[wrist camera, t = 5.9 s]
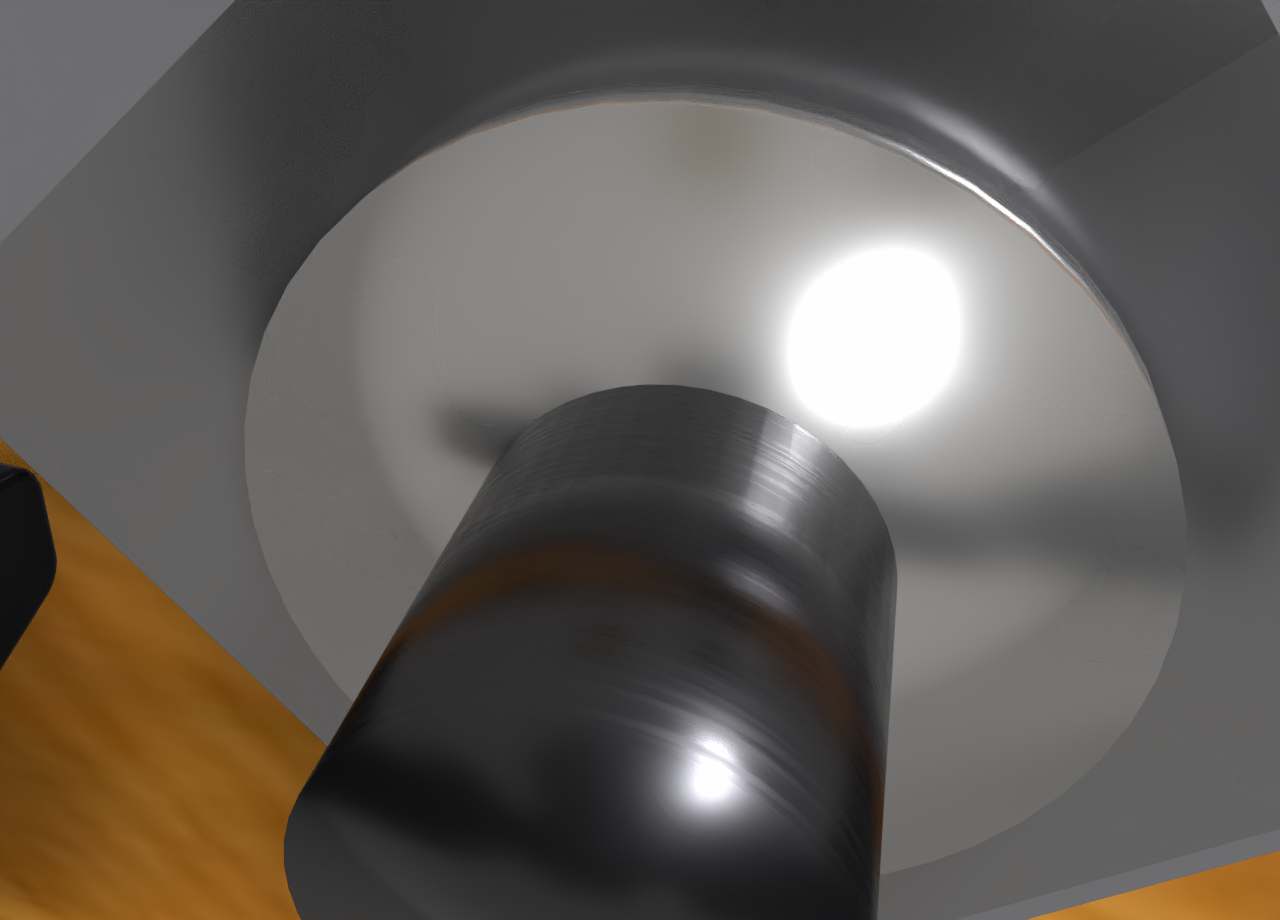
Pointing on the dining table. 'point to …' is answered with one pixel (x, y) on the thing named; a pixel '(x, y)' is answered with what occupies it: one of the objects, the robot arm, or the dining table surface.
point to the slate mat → (112, 84)
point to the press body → (731, 55)
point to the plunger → (699, 515)
